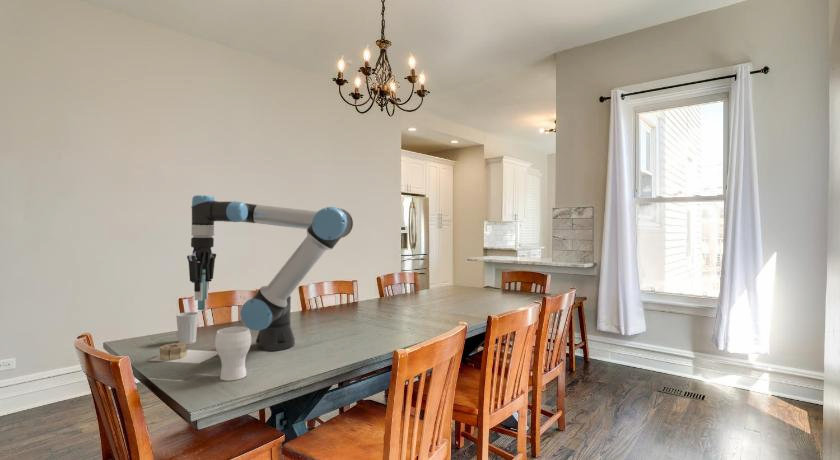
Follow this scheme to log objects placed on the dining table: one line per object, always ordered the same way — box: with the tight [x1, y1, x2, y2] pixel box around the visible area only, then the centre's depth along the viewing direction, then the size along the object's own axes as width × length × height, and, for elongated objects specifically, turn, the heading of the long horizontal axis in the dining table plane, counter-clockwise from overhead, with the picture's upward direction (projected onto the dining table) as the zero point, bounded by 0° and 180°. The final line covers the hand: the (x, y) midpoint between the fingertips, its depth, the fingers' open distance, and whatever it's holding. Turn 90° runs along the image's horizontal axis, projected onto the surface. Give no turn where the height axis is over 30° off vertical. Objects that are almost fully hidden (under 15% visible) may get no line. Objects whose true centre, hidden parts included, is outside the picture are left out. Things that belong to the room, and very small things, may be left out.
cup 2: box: [214, 326, 252, 382], centre depth 136 cm, size 11×11×15 cm
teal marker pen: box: [197, 269, 206, 311], centre depth 159 cm, size 2×2×15 cm
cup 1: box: [175, 311, 199, 345], centre depth 175 cm, size 8×8×12 cm
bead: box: [159, 342, 188, 361], centre depth 155 cm, size 8×8×4 cm
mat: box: [148, 349, 219, 364], centre depth 157 cm, size 20×14×1 cm
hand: (201, 299), depth 159 cm, fingers closed on teal marker pen, 2 cm apart
